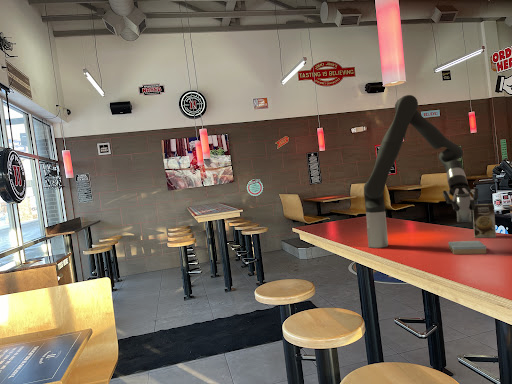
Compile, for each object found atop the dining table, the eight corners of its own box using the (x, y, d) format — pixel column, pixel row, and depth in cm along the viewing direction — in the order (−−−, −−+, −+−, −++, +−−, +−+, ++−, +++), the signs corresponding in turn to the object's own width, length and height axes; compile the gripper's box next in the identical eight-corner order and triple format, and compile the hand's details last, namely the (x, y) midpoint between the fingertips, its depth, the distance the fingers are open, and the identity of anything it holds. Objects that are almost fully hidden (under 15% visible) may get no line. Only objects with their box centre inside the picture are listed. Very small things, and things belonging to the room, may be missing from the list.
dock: (453, 254, 156) (453, 247, 156) (448, 248, 168) (448, 241, 168) (486, 253, 153) (486, 246, 153) (479, 247, 164) (478, 240, 164)
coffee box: (474, 237, 185) (472, 205, 185) (474, 235, 191) (471, 204, 190) (496, 237, 181) (494, 204, 181) (495, 235, 187) (492, 203, 186)
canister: (458, 222, 158) (456, 194, 158) (456, 220, 164) (453, 193, 163) (473, 221, 156) (471, 193, 156) (470, 220, 162) (468, 192, 161)
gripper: (439, 175, 169) (446, 205, 158) (476, 172, 164) (485, 202, 153) (439, 187, 174) (445, 216, 163) (474, 184, 169) (483, 214, 158)
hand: (464, 209), depth 158 cm, fingers closed on canister, 5 cm apart
